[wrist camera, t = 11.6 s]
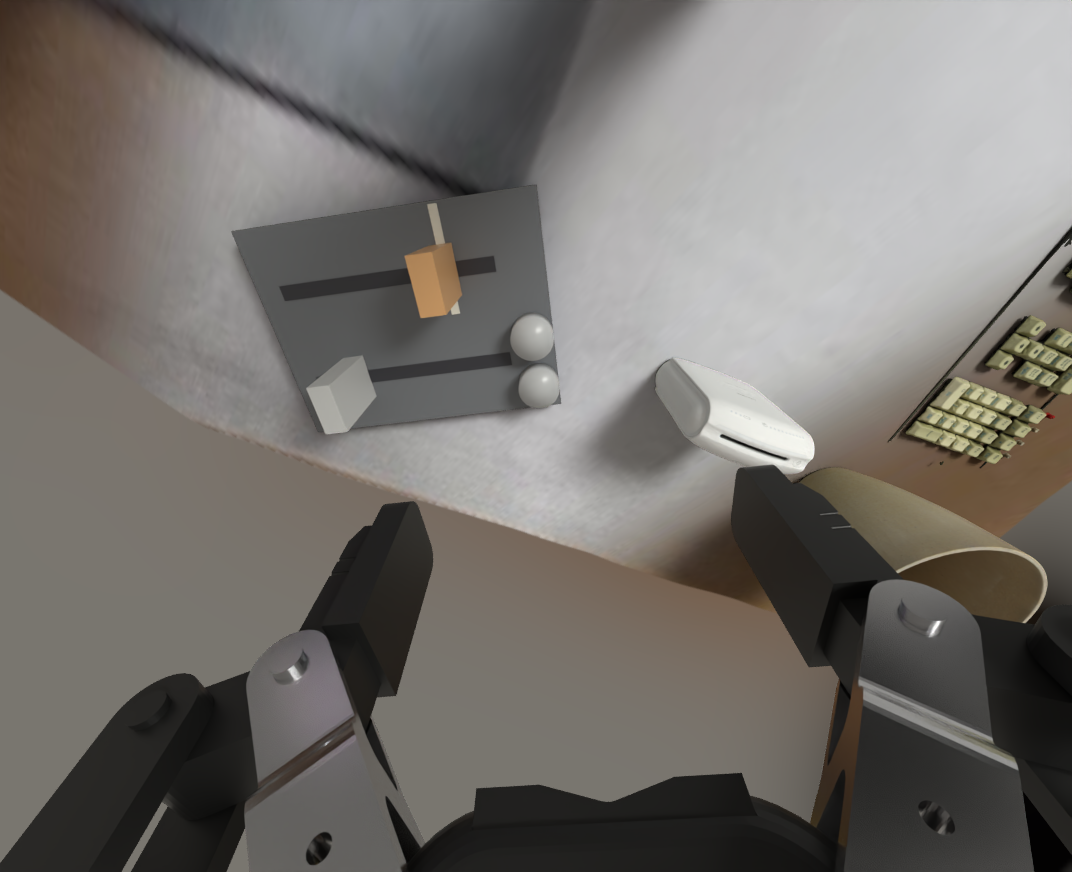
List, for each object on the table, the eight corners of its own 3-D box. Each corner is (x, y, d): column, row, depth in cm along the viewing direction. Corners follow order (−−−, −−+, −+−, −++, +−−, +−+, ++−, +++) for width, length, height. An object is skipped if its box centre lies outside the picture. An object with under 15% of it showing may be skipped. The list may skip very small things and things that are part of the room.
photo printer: (761, 385, 41) (840, 450, 31) (736, 421, 43) (802, 495, 33) (668, 349, 40) (716, 404, 29) (646, 388, 42) (684, 455, 31)
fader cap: (428, 245, 33) (404, 255, 27) (451, 242, 33) (431, 251, 27) (441, 297, 35) (420, 318, 29) (462, 294, 35) (446, 314, 29)
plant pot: (731, 486, 47) (812, 606, 33) (867, 411, 43) (1027, 513, 29) (786, 563, 53) (874, 692, 39) (911, 503, 48) (1063, 626, 34)
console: (246, 229, 35) (161, 238, 27) (536, 185, 33) (536, 180, 25) (327, 423, 44) (280, 472, 36) (560, 395, 42) (565, 440, 34)
